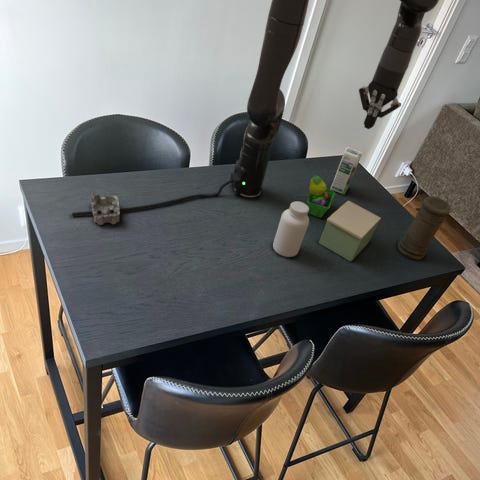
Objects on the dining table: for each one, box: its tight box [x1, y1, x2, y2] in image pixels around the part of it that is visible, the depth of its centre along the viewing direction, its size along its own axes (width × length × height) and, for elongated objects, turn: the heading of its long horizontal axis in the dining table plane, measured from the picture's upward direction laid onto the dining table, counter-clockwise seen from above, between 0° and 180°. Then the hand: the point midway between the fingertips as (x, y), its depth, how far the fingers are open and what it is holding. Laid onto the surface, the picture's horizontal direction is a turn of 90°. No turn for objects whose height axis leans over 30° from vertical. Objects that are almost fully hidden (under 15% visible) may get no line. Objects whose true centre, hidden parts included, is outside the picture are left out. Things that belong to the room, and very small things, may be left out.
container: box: [397, 195, 452, 261], centre depth 143 cm, size 9×9×18 cm
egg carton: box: [90, 192, 121, 226], centre depth 131 cm, size 11×8×4 cm
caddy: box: [318, 220, 380, 262], centre depth 142 cm, size 14×12×9 cm
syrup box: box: [329, 146, 363, 196], centre depth 162 cm, size 6×6×14 cm
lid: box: [326, 200, 382, 239], centre depth 138 cm, size 14×12×1 cm
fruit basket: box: [306, 175, 336, 219], centre depth 151 cm, size 11×9×11 cm
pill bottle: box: [272, 200, 310, 258], centre depth 132 cm, size 8×8×15 cm
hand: (367, 127), depth 136 cm, fingers closed
